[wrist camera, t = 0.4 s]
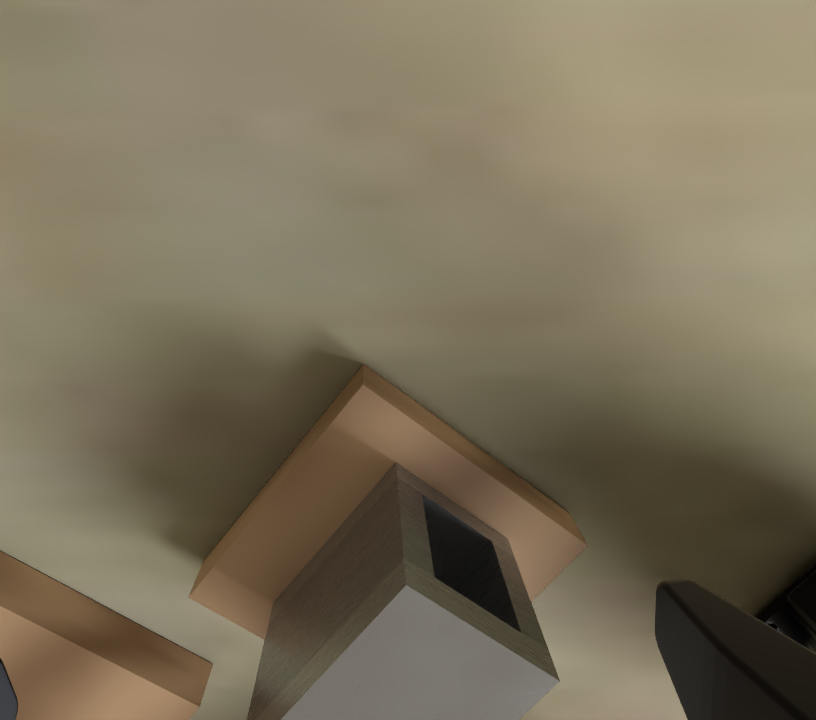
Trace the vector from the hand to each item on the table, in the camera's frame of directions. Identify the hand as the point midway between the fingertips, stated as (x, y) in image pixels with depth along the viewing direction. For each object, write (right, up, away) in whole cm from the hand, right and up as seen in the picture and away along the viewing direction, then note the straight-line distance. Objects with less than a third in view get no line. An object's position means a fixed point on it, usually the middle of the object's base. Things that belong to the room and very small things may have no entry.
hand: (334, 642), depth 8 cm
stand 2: (0, -3, +15) cm, 15 cm away
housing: (0, -4, +13) cm, 13 cm away
